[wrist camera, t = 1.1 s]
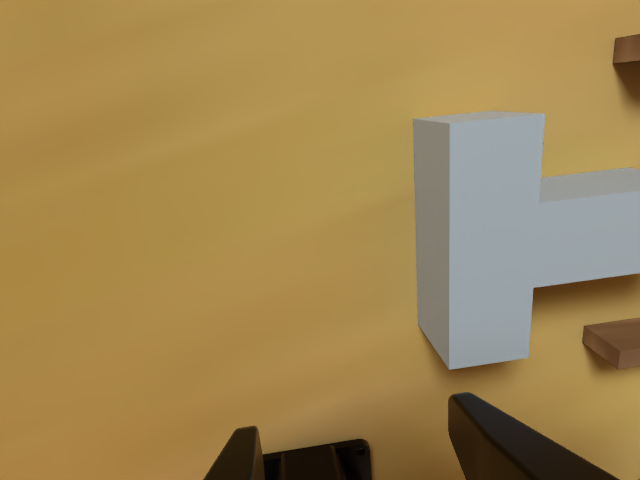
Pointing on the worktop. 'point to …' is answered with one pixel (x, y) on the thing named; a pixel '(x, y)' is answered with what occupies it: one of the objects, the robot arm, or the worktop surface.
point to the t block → (507, 231)
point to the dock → (626, 335)
